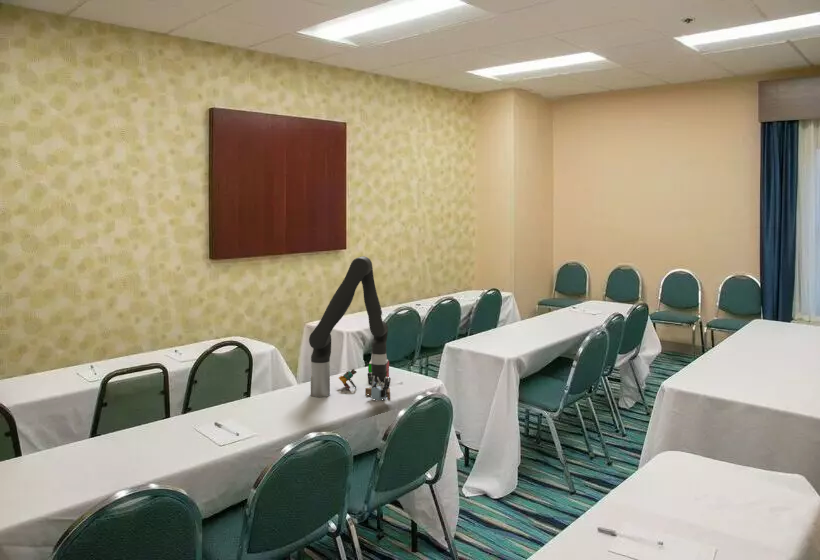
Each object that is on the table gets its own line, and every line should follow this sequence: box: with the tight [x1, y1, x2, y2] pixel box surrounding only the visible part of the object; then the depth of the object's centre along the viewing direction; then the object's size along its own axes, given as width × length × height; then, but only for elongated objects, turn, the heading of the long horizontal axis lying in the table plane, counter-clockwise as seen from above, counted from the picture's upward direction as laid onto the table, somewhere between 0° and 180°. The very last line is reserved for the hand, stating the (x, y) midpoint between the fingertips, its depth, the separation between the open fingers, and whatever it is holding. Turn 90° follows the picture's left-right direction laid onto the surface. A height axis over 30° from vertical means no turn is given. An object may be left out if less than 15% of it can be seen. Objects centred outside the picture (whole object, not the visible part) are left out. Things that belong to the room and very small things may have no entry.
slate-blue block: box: [370, 385, 387, 402], centre depth 313 cm, size 5×5×5 cm
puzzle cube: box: [367, 359, 390, 377], centre depth 347 cm, size 10×10×10 cm
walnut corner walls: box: [364, 387, 391, 400], centre depth 317 cm, size 12×7×4 cm, turn 93°
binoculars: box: [338, 368, 358, 391], centre depth 330 cm, size 9×9×10 cm
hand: (378, 395), depth 313 cm, fingers open, 5 cm apart
